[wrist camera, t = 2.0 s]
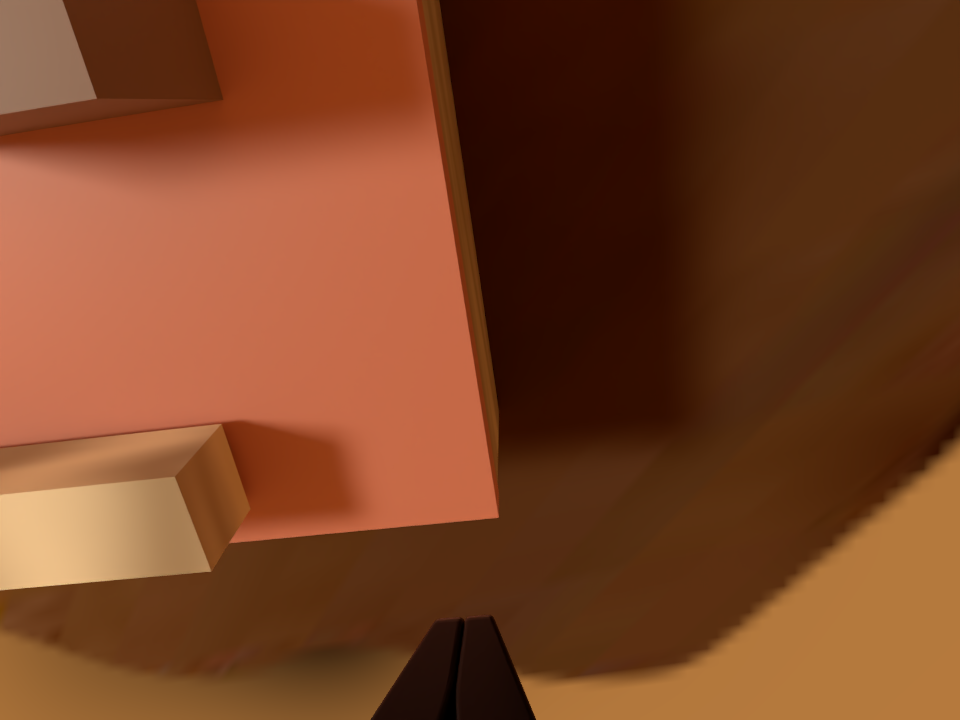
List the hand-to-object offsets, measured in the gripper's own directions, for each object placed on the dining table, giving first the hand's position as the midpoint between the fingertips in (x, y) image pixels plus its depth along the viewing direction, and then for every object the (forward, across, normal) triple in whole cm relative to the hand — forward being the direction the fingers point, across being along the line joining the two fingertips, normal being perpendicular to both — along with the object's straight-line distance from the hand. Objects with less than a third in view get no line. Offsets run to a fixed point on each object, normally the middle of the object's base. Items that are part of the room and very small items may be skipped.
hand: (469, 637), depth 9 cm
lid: (+7, +7, -5) cm, 11 cm away
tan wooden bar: (+6, +12, 0) cm, 14 cm away
